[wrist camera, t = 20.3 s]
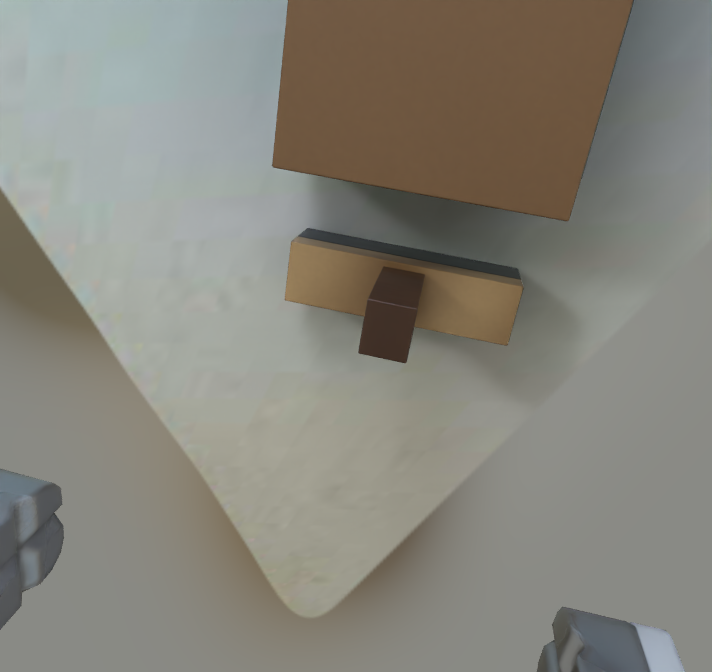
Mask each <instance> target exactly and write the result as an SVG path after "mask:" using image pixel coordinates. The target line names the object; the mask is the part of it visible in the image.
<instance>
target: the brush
mask: <svg viewBox="0 0 712 672" xmlns="http://www.w3.org/2000/svg"><path fill="white" fill-rule="evenodd" d="M522 292H523V284H522V281H521V277H520V274H519V271H518V269H517V268H512V267H507V266H502V265H496V264H491V263H486V262H481V261H476V260H470V259H465V258H460V257H455V256H450V255H444V254H439V253H434V252H429V251H424V250H419V249H413V248H408V247H403V246H398V245H393V244H387V243H382V242H377V241H372V240H367V239H361V238H356V237H351V236H346V235H341V234H336V233H330V232H325V231H320V230H315V229H310V228H307V229H306V230H305V231H303V232H302V233H301V234H300V235H299V236H298V237H296V238H295V239H294V240H293V241H292V242H291V248H290V257H289V266H288V275H287V284H286V292H285V300H287V301H292V302H296V303H301V304H306V305H311V306H316V307H321V308H326V309H331V310H335V311H340V312H345V313H350V314H355V315H360V316H364V322H363V328H362V334H361V339H360V345H359V351H358V353H359V354H364V355H369V356H373V357H378V358H383V359H388V360H392V361H397V362H402V363H406V362H407V358H408V353H409V349H410V344H411V340H412V335H413V330H414V327H418V328H423V329H428V330H433V331H438V332H443V333H447V334H452V335H457V336H462V337H467V338H472V339H477V340H482V341H486V342H491V343H496V344H501V345H506V346H507V345H508V342H509V338H510V335H511V331H512V328H513V324H514V320H515V317H516V313H517V310H518V306H519V302H520V299H521V295H522Z"/></svg>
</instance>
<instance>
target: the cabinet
mask: <svg viewBox="0 0 712 672" xmlns="http://www.w3.org/2000/svg"><path fill="white" fill-rule="evenodd" d="M633 3H634V0H288V7H287V17H286V28H285V38H284V49H283V59H282V69H281V80H280V90H279V101H278V111H277V122H276V132H275V143H274V153H273V164H272V166H273V167H274V168H279V169H285V170H290V171H295V172H301V173H306V174H312V175H317V176H323V177H328V178H334V179H339V180H345V181H350V182H355V183H361V184H366V185H372V186H377V187H383V188H388V189H394V190H399V191H405V192H410V193H415V194H421V195H426V196H432V197H437V198H443V199H448V200H454V201H459V202H465V203H470V204H475V205H481V206H486V207H492V208H497V209H503V210H508V211H514V212H519V213H525V214H530V215H535V216H541V217H546V218H552V219H557V220H563V221H569V219H570V215H571V212H572V209H573V205H574V202H575V198H576V195H577V191H578V188H579V185H580V181H581V179H582V176H583V173H584V169H585V166H586V163H587V159H588V156H589V152H590V149H591V146H592V142H593V139H594V135H595V132H596V129H597V125H598V122H599V118H600V115H601V112H602V108H603V105H604V101H605V98H606V95H607V91H608V88H609V84H610V81H611V78H612V74H613V71H614V68H615V64H616V61H617V57H618V54H619V51H620V47H621V44H622V40H623V37H624V34H625V30H626V27H627V23H628V20H629V17H630V13H631V10H632V6H633Z"/></svg>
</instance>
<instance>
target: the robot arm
mask: <svg viewBox="0 0 712 672" xmlns="http://www.w3.org/2000/svg"><path fill="white" fill-rule="evenodd" d="M61 505H62V496H61V488H60V487H59V486H57V485H56V484H54V483H51V482H47V481H44V480H40V479H36V478H33V477H29V476H25V475H21V474H18V473H14V472H10V471H6V470H3V469H0V630H1V628H2V627H3V626H4V625H5V624H6V622H7V621H8V620H9V619H10V618H11V617H12V616H13V615H14V614H15V612H16V611H17V610H18V609H19V608H20V606H21V601H22V592H23V591H26V590H28V589H30V588H32V587H34V586H37V585H39V584H41V582H42V581H43V580H44V579H45V578H46V576H47V575H48V574H49V573H50V572H51V570H52V569H53V567H54V565H55V563H56V561H57V559H58V557H59V555H60V553H61V549H62V544H63V539H64V531H63V525H62V523H61V522H60V520H59V519H58V518H57V516H56V515H55V513H54V512H55V511H56V510H57V509H58V508H59V507H60V506H61ZM552 626H553V633H554V639H555V640H554V641H552V642H550V643H548V644H547V645H545V646H544V648H543V650H542V653H541V656H540V659H539V662H538V669H537V672H685V670H684V667H683V665H682V662H681V660H680V657H679V655H678V653H677V650H676V647H675V645H674V642H673V640H672V637H671V636H670V635H669V633H668V632H667V631H666V630H663V629H658V628H655V627H650V626H646V625H641V624H637V623H632V622H630V623H628V622H626V621H622V620H618V619H613V618H609V617H605V616H601V615H597V614H592V613H588V612H584V611H579V610H575V609H571V608H566V607H562V608H561V609H560V610H559V611H558V612H557V614H556V617H555V619H554V622H553V624H552Z"/></svg>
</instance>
